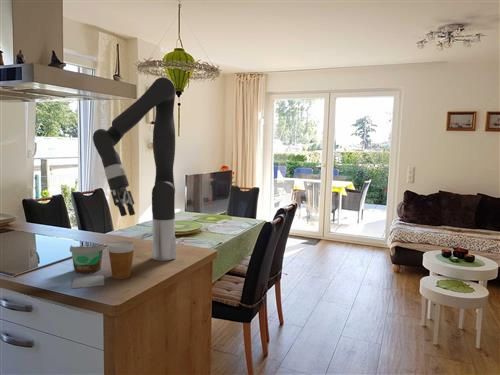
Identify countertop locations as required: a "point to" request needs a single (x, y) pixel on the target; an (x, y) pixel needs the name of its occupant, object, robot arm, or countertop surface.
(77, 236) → the countertop surface
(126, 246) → the disposable coffee cup
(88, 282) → the mat
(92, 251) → the food container
